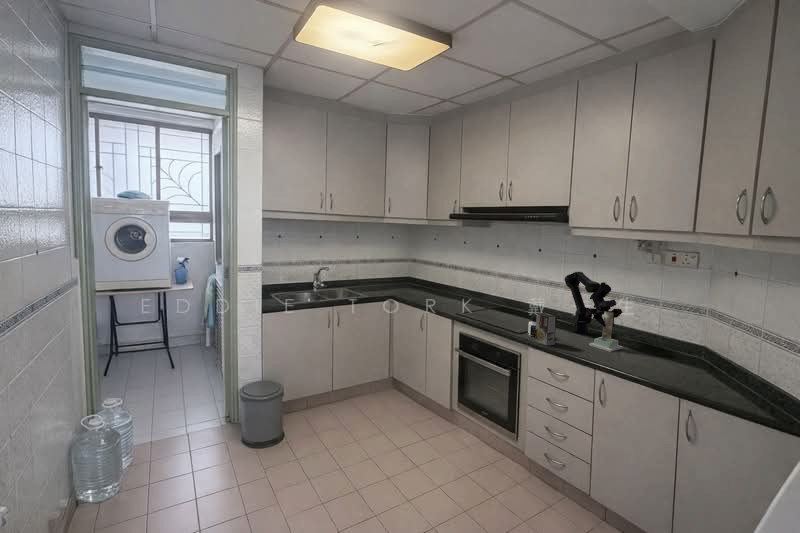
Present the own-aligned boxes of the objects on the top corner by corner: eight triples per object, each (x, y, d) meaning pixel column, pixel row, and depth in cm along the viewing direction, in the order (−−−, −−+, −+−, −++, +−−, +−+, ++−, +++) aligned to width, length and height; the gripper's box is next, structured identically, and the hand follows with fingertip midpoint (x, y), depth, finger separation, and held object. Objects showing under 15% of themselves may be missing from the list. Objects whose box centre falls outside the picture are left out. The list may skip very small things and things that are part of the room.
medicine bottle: (529, 336, 233) (531, 316, 231) (527, 333, 240) (529, 313, 238) (542, 337, 232) (544, 317, 230) (540, 333, 239) (541, 314, 237)
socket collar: (589, 345, 220) (589, 338, 219) (601, 342, 226) (601, 335, 226) (610, 351, 210) (611, 344, 209) (622, 348, 216) (623, 341, 216)
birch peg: (601, 337, 217) (603, 312, 215) (602, 335, 220) (604, 311, 219) (610, 339, 214) (613, 314, 213) (611, 337, 218) (613, 312, 216)
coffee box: (555, 344, 219) (557, 316, 217) (546, 345, 217) (548, 317, 215) (542, 339, 228) (545, 312, 226) (534, 340, 225) (536, 313, 223)
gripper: (590, 294, 217) (599, 319, 208) (622, 294, 219) (633, 319, 210) (581, 304, 226) (590, 329, 217) (612, 305, 228) (622, 329, 219)
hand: (609, 326), depth 215 cm, fingers closed on birch peg, 4 cm apart
